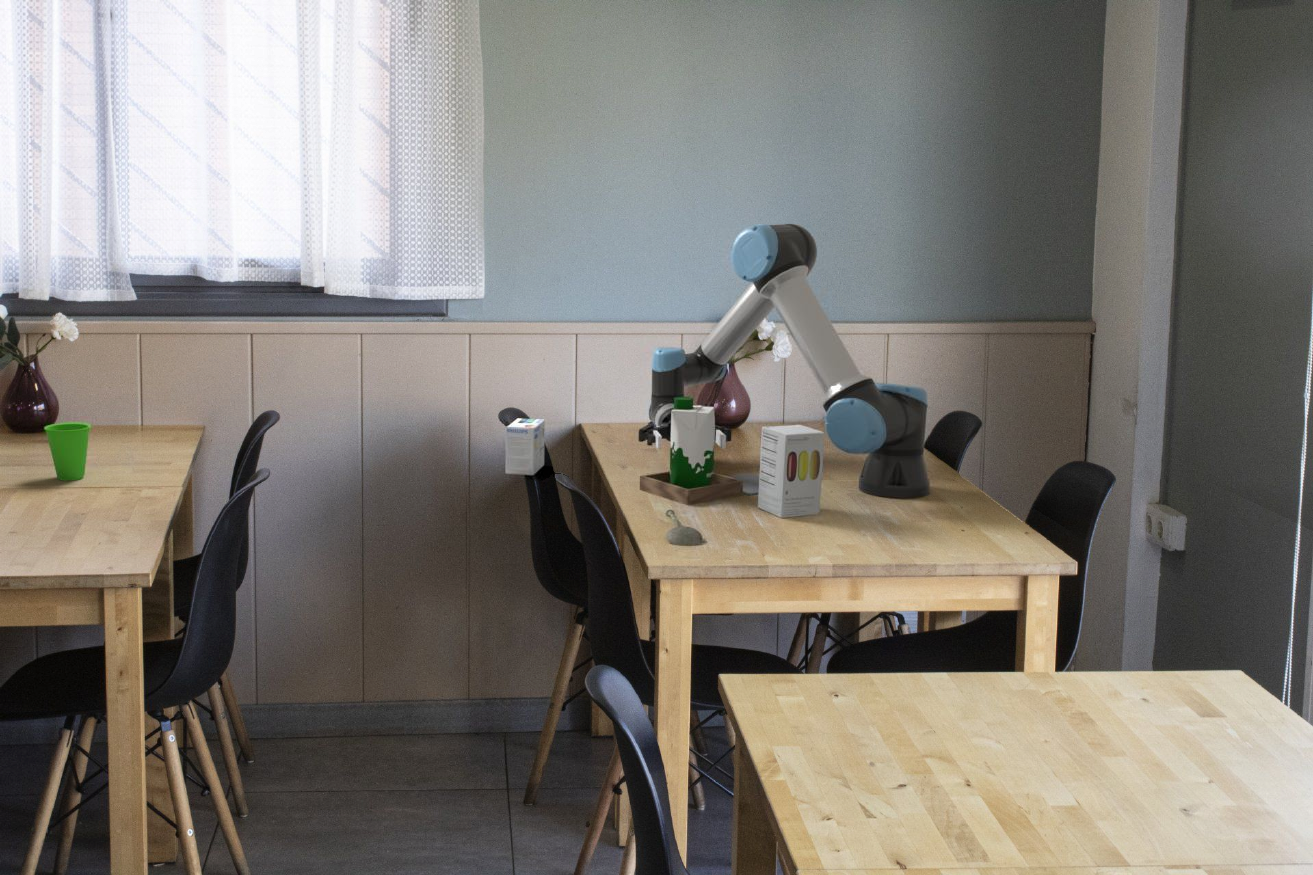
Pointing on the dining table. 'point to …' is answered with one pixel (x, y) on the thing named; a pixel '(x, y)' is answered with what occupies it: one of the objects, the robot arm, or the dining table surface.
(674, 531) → the soupspoon
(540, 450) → the light bulb box
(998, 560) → the dining table surface
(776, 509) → the supplement box
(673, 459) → the soya milk
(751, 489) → the rubber mat
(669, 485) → the walnut frame
